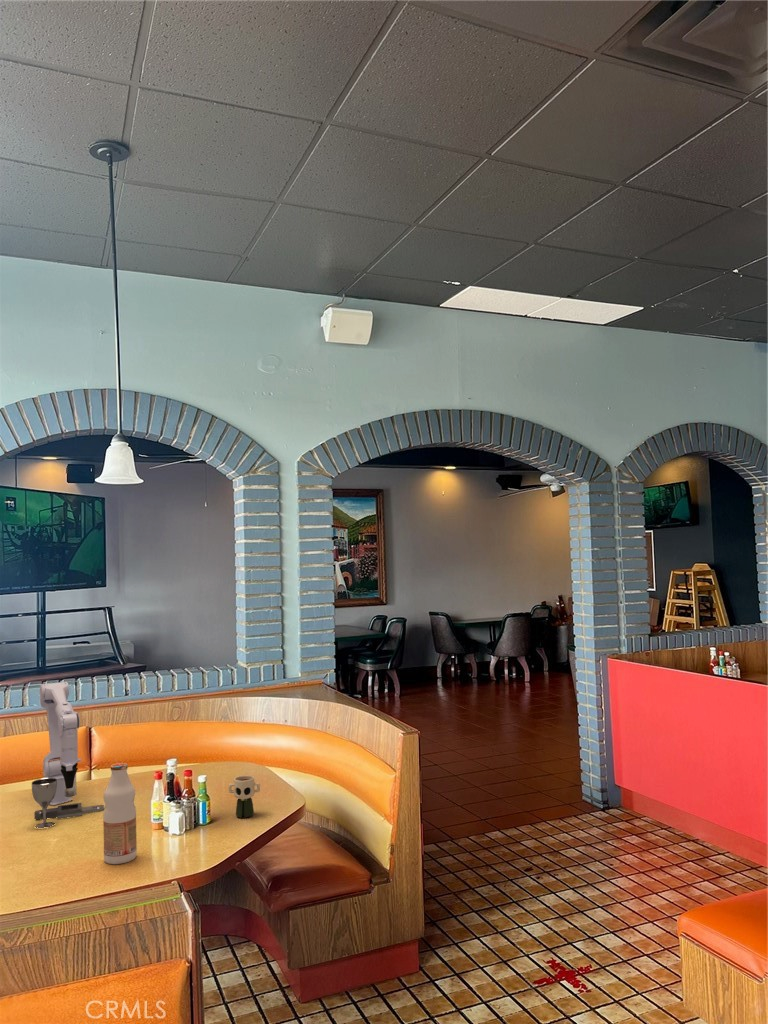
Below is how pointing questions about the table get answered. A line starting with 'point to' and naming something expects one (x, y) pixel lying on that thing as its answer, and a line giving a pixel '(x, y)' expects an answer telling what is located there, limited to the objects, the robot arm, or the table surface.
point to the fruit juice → (119, 817)
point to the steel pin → (70, 789)
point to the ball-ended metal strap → (67, 811)
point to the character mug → (244, 794)
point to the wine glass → (44, 796)
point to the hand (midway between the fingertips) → (69, 786)
